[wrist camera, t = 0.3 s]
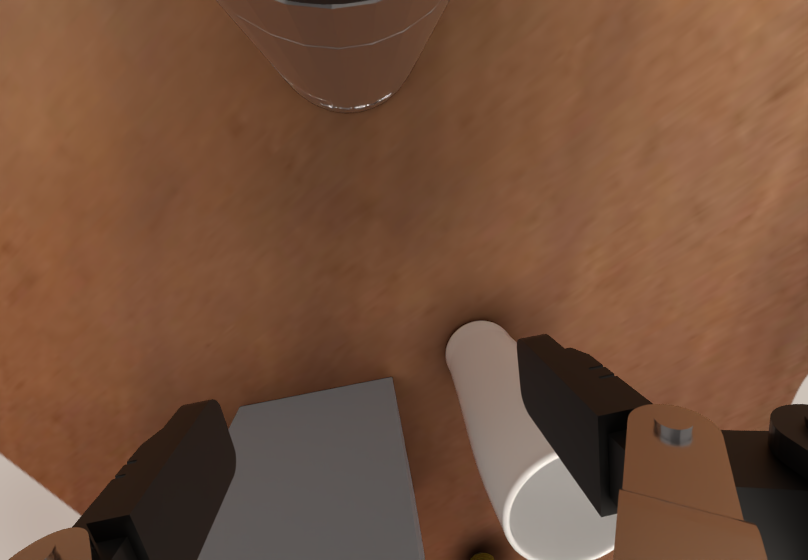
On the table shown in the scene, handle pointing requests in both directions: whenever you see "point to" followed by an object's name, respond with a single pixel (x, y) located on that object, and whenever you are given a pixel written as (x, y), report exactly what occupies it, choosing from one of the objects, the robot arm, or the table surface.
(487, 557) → the light bulb
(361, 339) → the table surface
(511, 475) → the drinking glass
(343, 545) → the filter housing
